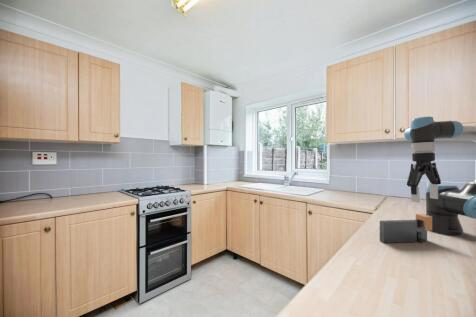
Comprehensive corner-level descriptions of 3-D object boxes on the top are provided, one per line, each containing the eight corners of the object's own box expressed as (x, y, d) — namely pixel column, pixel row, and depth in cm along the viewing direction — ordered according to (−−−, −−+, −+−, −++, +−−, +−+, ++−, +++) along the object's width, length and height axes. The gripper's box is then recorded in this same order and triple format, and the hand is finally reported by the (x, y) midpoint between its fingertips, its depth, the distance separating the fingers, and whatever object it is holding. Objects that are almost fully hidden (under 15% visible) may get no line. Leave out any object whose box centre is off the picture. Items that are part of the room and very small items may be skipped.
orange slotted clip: (422, 227, 95) (422, 213, 95) (432, 230, 91) (432, 216, 91) (415, 227, 95) (415, 214, 95) (425, 230, 90) (425, 216, 90)
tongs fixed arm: (424, 239, 94) (424, 219, 94) (431, 242, 91) (431, 221, 91) (379, 240, 93) (379, 220, 93) (385, 243, 89) (385, 222, 89)
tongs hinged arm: (414, 240, 92) (414, 220, 92) (416, 241, 91) (416, 221, 91) (381, 241, 91) (381, 221, 91) (384, 242, 90) (384, 222, 90)
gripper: (429, 151, 101) (431, 195, 101) (395, 153, 92) (397, 201, 92) (449, 151, 94) (451, 198, 94) (415, 152, 85) (417, 205, 85)
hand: (425, 200), depth 93 cm, fingers open, 13 cm apart
